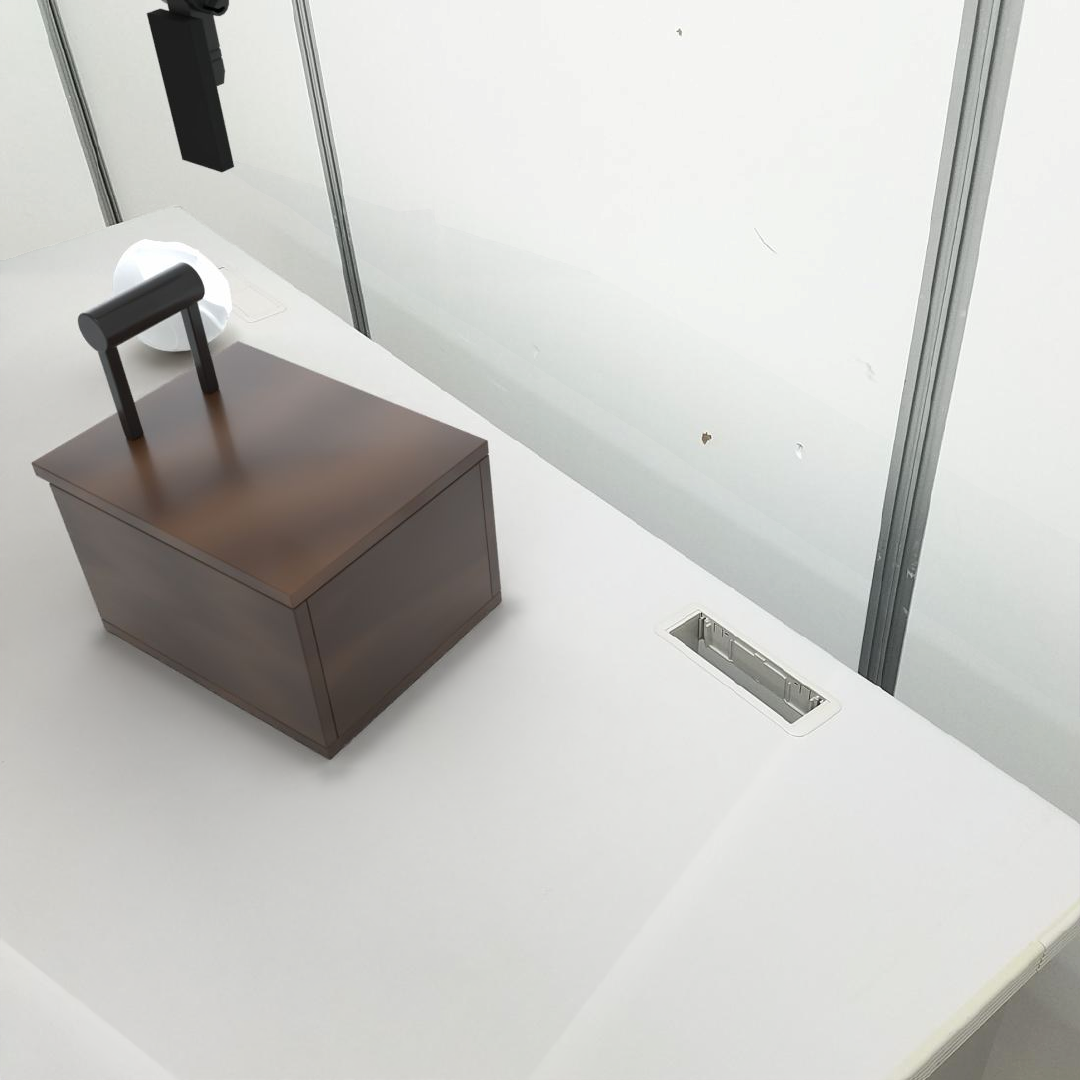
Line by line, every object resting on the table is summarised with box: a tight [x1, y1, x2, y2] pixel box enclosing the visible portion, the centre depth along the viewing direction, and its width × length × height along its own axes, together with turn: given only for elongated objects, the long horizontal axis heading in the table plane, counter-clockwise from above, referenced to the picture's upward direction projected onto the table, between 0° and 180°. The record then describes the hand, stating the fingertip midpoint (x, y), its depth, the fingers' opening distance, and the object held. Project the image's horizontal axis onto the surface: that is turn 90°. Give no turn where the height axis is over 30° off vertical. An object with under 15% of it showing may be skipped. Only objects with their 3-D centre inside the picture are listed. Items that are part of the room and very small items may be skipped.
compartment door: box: [31, 262, 490, 608], centre depth 58 cm, size 18×14×8 cm
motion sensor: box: [112, 239, 233, 352], centre depth 87 cm, size 8×8×8 cm
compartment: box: [48, 454, 503, 760], centre depth 64 cm, size 17×14×10 cm
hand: (88, 219), depth 54 cm, fingers open, 13 cm apart
